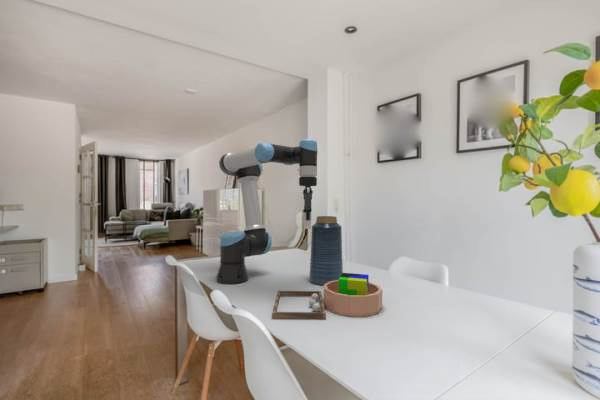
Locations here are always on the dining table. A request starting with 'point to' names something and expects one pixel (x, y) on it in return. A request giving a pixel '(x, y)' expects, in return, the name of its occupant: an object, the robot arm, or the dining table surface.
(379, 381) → the dining table surface
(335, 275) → the blue thread spool
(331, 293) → the bowl
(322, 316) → the tray
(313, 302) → the pebble
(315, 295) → the pebble
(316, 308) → the pebble
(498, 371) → the dining table surface
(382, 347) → the dining table surface
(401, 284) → the dining table surface
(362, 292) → the puzzle toy
